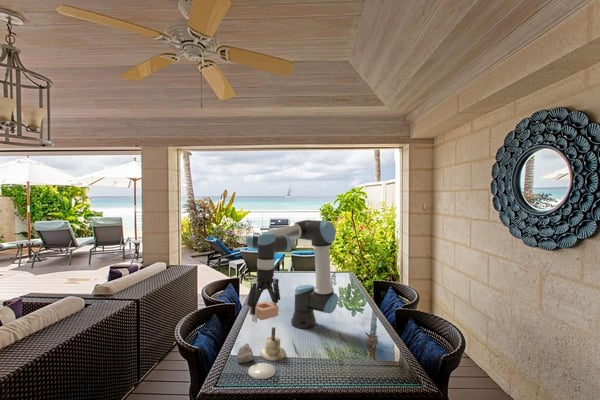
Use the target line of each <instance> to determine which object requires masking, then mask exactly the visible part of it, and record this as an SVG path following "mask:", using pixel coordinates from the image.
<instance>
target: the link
mask: <svg viewBox="0 0 600 400" xmlns="http://www.w3.org/2000/svg"><path fill="white" fill-rule="evenodd" d="M256 307H258V309H257V320H259V321H264V320H267V319H271V318H273V317H274V318H276V317H278V316H279V306H278V305H277V304H276V305H273V304H271V303H270V302H269V301H261V302H258V303H257V305H256ZM249 315H250V316H252V314H251V307H250V306H249Z"/></svg>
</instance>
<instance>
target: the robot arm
mask: <svg viewBox="0 0 600 400" xmlns="http://www.w3.org/2000/svg"><path fill="white" fill-rule="evenodd" d="M336 232H337V231H336V227H335V226H334V224H333V223H332V222H330V221H327V220H312V219H305V220H300V221H297V222H292V223H290V224H289V225H288V226H284V227H279V228H276V229H271V230H267V231H263V232H260V233H257V232H250V233H249V234H248V235H247V237H246V245H247V247H248V248H251V249H254V250H257V259H256V260H257V262H256V267H257V269H256V281H255V282H253V281H252V282H250V290H249V294H248V299H247V303H246V306H249V308H250V307H251V314H252V315H251V321H252V322H254V323H256V324H257V323H258V318H257V309H258V307H256V305H257V303H259V301H260V298H261V295H262V294H263V292H264V291H265V290H267V292H268V294H269V296H270V300H271V301H270V302H269V303H271V304H273V305H276V306H277V304H278V302H279V301H280V300H281V294H280V288H279V281H280V280H279V279H278V278H275V275H274V274H275V269H274V268H275V254H279V253H284V252H286V251H289V250H290V249H291V248H292V244H293V243H292V240H295V241H296V240H307V241H311V246H312V247H313V248H314V266H315V286H314V285H312V284H302V285H299V286H296V288H295V291H294V309H293V310H294V311H293V314H292V318H291V319H290V322H291V326H293V327H294V328H297V329H307V330H308V329H311V328H312V329H313V328H314V327H316V324H317V320H316V317H315V312H314V311H317V312H320V313H324V314H333V313H334V311H335V310H336V307H337V305H338V301H339V296H338V294H337V293H334V292H335V290H334V287H332V281H331V279H332V278H331V276H332V275H331V257H330V256H331V255H330V253H331V252H330V251H331V250H330V247H331V246H332V245H333V242H335V239H336V236H337V235H336ZM272 318H274V319H275V317H272Z"/></svg>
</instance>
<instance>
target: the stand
mask: <svg viewBox="0 0 600 400" xmlns="http://www.w3.org/2000/svg"><path fill="white" fill-rule="evenodd" d="M259 355H260V357H261V358H262V359H263V360H266V361H272V362H273V361H274V362H275V361H279V360H282V359H284V357H285V356H286V350H285V349H284V348H282V347H281V338H280V337H278V336H276V326H273V327H271V335H270V336H269V337H266V338H265V347H264V348H262V349H261V350H260V354H259Z"/></svg>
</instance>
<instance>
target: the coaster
mask: <svg viewBox="0 0 600 400" xmlns="http://www.w3.org/2000/svg"><path fill="white" fill-rule="evenodd" d="M247 371H248V372H247V374H248V375H249V376H250V377H251V378H252V379H256V380H266V379H269V378H270V379H271V377H274V376H275V374H276V367H275V366H274V365H273V364H270V363H266V362H259V363H255V364H253V365H252V364H251V366H250V367H249V368H248V370H247Z"/></svg>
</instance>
